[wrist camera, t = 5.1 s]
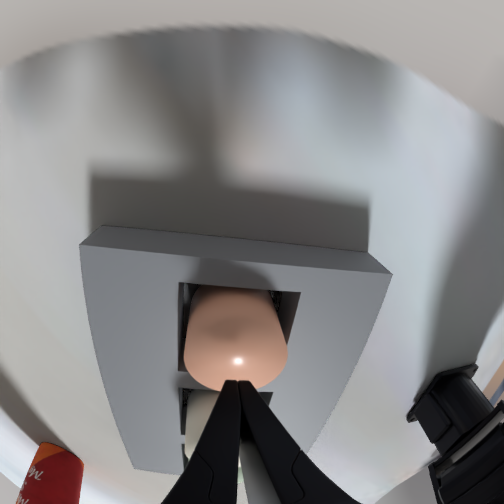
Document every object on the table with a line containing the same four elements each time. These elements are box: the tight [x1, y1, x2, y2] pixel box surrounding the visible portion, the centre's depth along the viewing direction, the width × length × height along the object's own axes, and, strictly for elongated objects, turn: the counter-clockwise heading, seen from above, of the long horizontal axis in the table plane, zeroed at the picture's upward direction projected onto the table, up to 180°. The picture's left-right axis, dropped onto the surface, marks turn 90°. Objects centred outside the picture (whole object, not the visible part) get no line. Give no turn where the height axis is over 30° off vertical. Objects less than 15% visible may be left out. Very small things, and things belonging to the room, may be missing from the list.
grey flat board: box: [79, 226, 393, 475], centre depth 15 cm, size 13×19×2 cm
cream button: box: [185, 389, 241, 467], centre depth 13 cm, size 4×4×4 cm
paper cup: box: [16, 442, 84, 504], centre depth 14 cm, size 8×8×14 cm
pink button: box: [184, 284, 288, 391], centre depth 12 cm, size 4×4×4 cm
